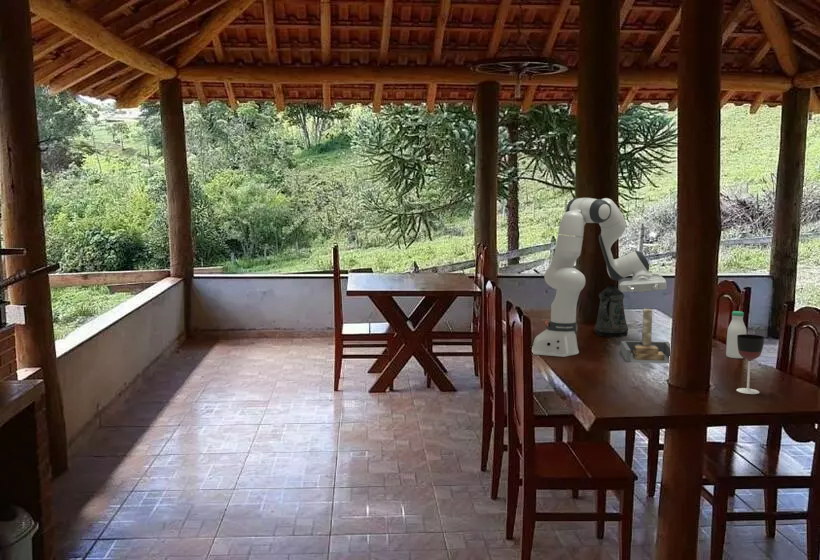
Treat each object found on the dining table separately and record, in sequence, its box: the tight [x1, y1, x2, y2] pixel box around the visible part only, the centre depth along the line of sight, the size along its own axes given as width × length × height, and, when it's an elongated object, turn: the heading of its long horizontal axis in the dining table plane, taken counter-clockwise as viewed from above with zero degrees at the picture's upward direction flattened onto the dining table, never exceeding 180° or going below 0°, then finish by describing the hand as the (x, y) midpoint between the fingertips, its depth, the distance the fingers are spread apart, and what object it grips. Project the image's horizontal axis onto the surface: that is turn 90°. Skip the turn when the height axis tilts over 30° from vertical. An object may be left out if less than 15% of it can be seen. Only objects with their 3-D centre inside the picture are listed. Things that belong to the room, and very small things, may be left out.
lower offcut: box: [633, 351, 665, 360], centre depth 295 cm, size 12×6×2 cm, turn 80°
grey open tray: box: [620, 340, 671, 364], centre depth 296 cm, size 20×20×6 cm
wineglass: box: [736, 334, 765, 395], centre depth 249 cm, size 8×9×20 cm
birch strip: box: [641, 308, 653, 346], centre depth 300 cm, size 3×5×20 cm, turn 170°
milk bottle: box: [725, 310, 748, 359], centre depth 302 cm, size 8×8×20 cm
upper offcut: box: [634, 346, 658, 354], centre depth 295 cm, size 9×5×2 cm, turn 80°
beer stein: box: [594, 285, 629, 338], centre depth 351 cm, size 16×19×25 cm
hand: (643, 289), depth 309 cm, fingers open, 8 cm apart
